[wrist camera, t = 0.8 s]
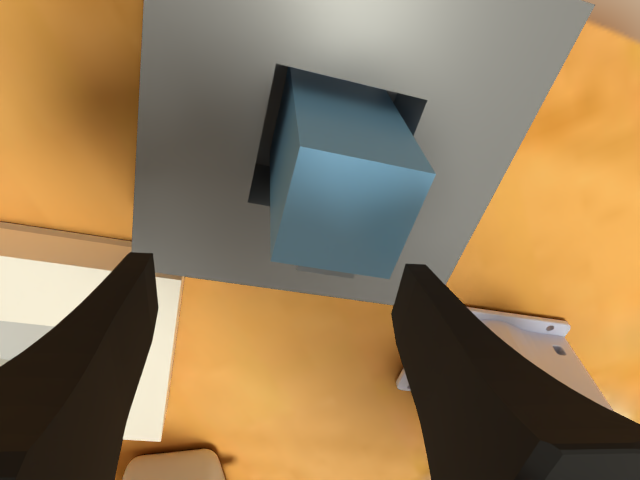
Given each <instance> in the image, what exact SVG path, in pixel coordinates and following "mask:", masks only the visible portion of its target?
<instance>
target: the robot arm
mask: <svg viewBox="0 0 640 480" xmlns="http://www.w3.org/2000/svg"><path fill="white" fill-rule="evenodd" d="M158 308H159V307H158V297H157V287H156V277H155V267H154V258H153V253H137V252H130V253H128V254H127V255H126V256H125V257H124V258H123V259H122V261H121V262H120V263H119V264H118V265H117V266H116V267H115V268H114V269H113V271H112V272H111V273H110V274H109V275H108V276H107V277H106V278H105V279H104V280H103V281H102V282H101V283H100V284H99V285H98V286H97V287H96V288H95V289H94V290H93V291H92V292H91V293H90V294H89V295H88V296H87V297H86V298H85V299H84V300H83V301H82V302H81V303H80V304H79V305H78V306H77V307H76V308H75V309H74V310H73V311H72V312H70V313H69V314H68V315H67V316H66V317H65V318H64V319H63V320H62V321H60V322H59V323H58V324H57V325H56V326H55V327H53V328H52V329H51V330H50V331H49V332H47V333H46V334H45V335H44V336H42V337H41V338H40V339H39V340H37V341H36V342H35V343H33V344H32V345H31V346H29V347H28V348H27V349H25V350H24V351H23V352H21V353H20V354H18V355H17V356H15V357H14V358H12V359H11V360H9V361H8V362H6V363H5V364H3V365H2V366H0V480H115V475H116V470H117V465H118V460H119V455H120V450H121V446H122V441H123V436H124V431H125V427H126V423H127V419H128V416H129V412H130V409H131V406H132V403H133V400H134V397H135V394H136V390H137V387H138V384H139V381H140V378H141V375H142V372H143V369H144V366H145V363H146V360H147V356H148V353H149V350H150V347H151V344H152V341H153V336H154V330H155V325H156V320H157V314H158ZM391 315H392V321H393V328H394V333H395V339H396V344H397V348H398V351H399V354H400V358H401V361H402V364H403V367H404V368H403V370H402V372H401V373H400V375H399V377H398V379H397V381H396V385H397V388H398V389H399V390H405V391H411V393H412V396H413V399H414V402H415V405H416V409H417V412H418V416H419V420H420V423H421V428H422V433H423V438H424V443H425V448H426V453H427V458H428V464H429V469H430V475H431V480H640V424H638V423H636V422H634V421H632V420H630V419H628V418H626V417H624V416H622V415H620V414H618V413H616V412H614V411H613V409H612V408H611V406H610V405H609V403H608V402H607V400H606V399H605V397H604V396H603V394H602V393H601V391H600V390H599V388H598V387H597V385H596V384H595V382H594V381H593V379H592V378H591V376H590V375H589V373H588V372H587V370H586V369H585V367H584V366H583V364H582V363H581V361H580V360H579V358H578V357H577V355H576V354H575V352H574V351H573V349H572V348H571V346H570V345H569V343H568V342H567V340H566V339H565V336H566V334H567V333H568V332H569V330H570V325H569V324H568V322H567V321H562V320H555V319H548V318H541V317H534V316H527V315H520V314H513V313H506V312H499V311H492V310H485V309H478V308H471V307H466V306H465V305H464V304H463V303H462V302H461V301H460V300H459V299H458V298H457V297H456V296H455V295H454V294H453V293H452V292H451V291H450V290H449V288H448V287H447V286H446V285H445V284H444V283H443V282H442V281H441V280H440V279H439V278H438V277H437V276H436V275H435V274H434V273H433V272H432V270H431V269H430V268H429V267H428V266H427V265H426V264H405V267H404V271H403V274H402V278H401V282H400V285H399V289H398V292H397V296H396V299H395V303H394V306H393V310H392V313H391Z"/></svg>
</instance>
